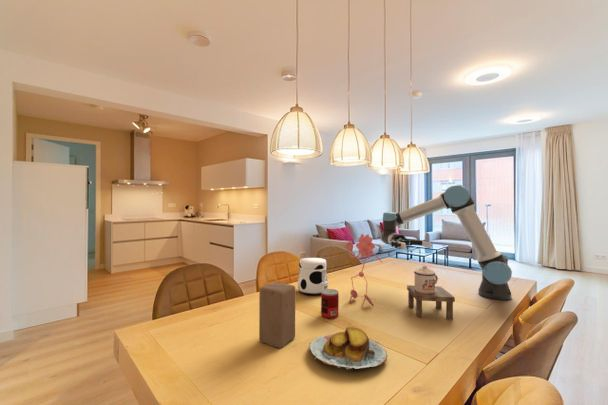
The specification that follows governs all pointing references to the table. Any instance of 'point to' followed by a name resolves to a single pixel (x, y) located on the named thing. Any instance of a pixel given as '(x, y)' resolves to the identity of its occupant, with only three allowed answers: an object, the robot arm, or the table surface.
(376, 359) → the food on plate
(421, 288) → the teacup with lid
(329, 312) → the canned food
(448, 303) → the walnut footstool
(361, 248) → the figurine
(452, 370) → the table surface
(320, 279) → the milk container
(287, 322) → the wooden block
